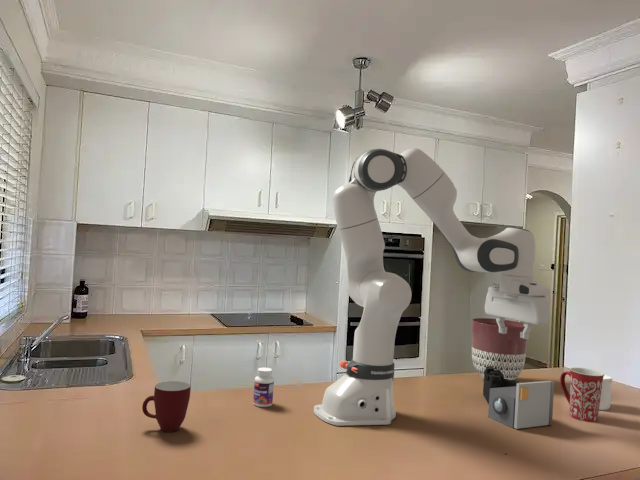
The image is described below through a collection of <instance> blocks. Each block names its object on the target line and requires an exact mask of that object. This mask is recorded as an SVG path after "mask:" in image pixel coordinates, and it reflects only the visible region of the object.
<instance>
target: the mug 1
mask: <svg viewBox="0 0 640 480" xmlns="http://www.w3.org/2000/svg"><path fill="white" fill-rule="evenodd" d="M190 397H191V384H189V383H187V382H185V381H177V380H175V381H173V380H172V381H171V380H170V381H164V382H163V381H162V382H159V383H157V384H155V386H154V393H153V395H149V396H147V397H146V398H145V399H144V401H143V402H142V407H141V409H142V413H143V414H144V415H145V416H146V417H148V418H151V419H156V422H157V424H158V425H159V427H160V430H161V431H163V432H167V433H168V432H169V433H170V432H171V433H173V432H176V431H179V429H180V428H181V426H182V424H183V423H184V420H185V418H186V415H187V412H188V411H187V410H188V407H189V402H190V399H191V398H190ZM149 402H153V403H154V409H155V410H154V411H155V414H153V413H150V412H149V411H148V403H149Z"/></svg>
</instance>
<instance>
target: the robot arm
mask: <svg viewBox="0 0 640 480" xmlns="http://www.w3.org/2000/svg"><path fill="white" fill-rule="evenodd" d="M394 186H399V187H401V188H402V189H403V190H404V191H406V193H407V194H408V195H409V197H410V198H411V199H412V201H414V203H415V204H416V205H417V206H418V207H419V208H420V209H421V210H422V211H423V212H424V213H425V215H426V216H428V218H429V219H430V221H432V224H434V226H435V227H436V229H437V230H438V231H439V232H440V234H441V235H442V236H443V238H444V239H445V240H446V241H447V243H448V244H449V245H450V247H451V249H452V251H453V254H454V258H455V260H456V262H457V264H458V266H459V267H460V268H461V269H462V270H463V271H465V272H468V273H487V274H488V273H489V274H496V273H499V284H498V283H491V285H490V286H489V287H488V289H487V293H486V297H485V302H484V312H485V314H486V315H489V316H494V317H495V319H496V321H497V324H498V326H499V333H502V334H506V333H507V327H505V324H504V321H505V320H511V321H516V322H521V323H524V326H525V328H524V330H523V332H520V338H522V339H528V340H529V339H530V332H531V331H532V329H533V328H534V325H536V326H545V325H547V324H548V323H549V321H550V320H549V319H550V301H549V299H548V296H549V294H550V289H549V288H548V287H547V286H544V285H542V284H540V283H539V282H538V281H535V275H534V274H535V273H534V265H535V263H536V240H535V235H534V233H533V232H531V231H530V230H528V229H526V228H521V227H514V226H513V227H506V228H505V229H504V230H502V231H500V232H499V233H497V234H495V235H492V236H488V237H481V238H480V237H476V236H475V235H472V234H471V233H470V232H469V231H468V230H467V228H466V227H465V226H464V225H463V223H462V221H460V219H459V218H458V217H457V215H456V214H455V212H454V205H455V203H456V201H457V195H458V193H457V192H458V191H457V188H456V186H455V185H454V182H453V180H451V178H450V177H449V175H448V174H447V173H446V172H445V171H444V170H443V168H442V167H440V165H439V164H438V163H437V162H436V161H434V159H433V158H432V157H430V156H429V155H428V154H427V153H426V152H424V151H423V150H422V149H420V148H418V147H411V148H408V149H405V150H403V151H402V152H401V153H396V152H394V151H390V150H388V149H384V148H375V149H369V150H366V151H364V152H362V153H361V154H359V156H357V157H356V158H355V160H354V162H353V163H352V167H351V169H350V176H349V178H348V182H347V183H343V184H342V185H340V186H339V187H337V188H336V189H335V190H334V192H333V195H332V203H333V212H334V217H335V222H336V226H337V229H338V234H339V236H340V239H341V243H342V247H343V250H344V254H345V258H346V268H347V283H346V292H347V295H348V296H349V297H350V299H351V300H352V301H353V302H354V303H355V304H356V305H358V306H359V307H362V308H363V312H362V314H361V319H360V321H359V324H358V326H357V327H356V328H355V330H354V336H353V349H352V350H353V352H352V358H351V360H350V361H349V363H348V361H345V359H344V360H343V359H342V360H340V362H339V367H340V368H341V369H344V370H346V371H345V373H344V374H343V375H341V376H340V377H339V378H338V379H337V380H336V381H334V382H333V383H331V384H330V385H329V386H328V387H326V389H325V391H324V392H323V393H324V394H323V398H322V401H321V404H315V405H314V406H313V413H314V414H315V415H316V417H318V418H319V419H320V420H322V421H323V422H326V423H328V424H330V425H333V426H337V427H338V426H339V427H341V426H344V427H345V426H373V425H374V426H378V425H379V426H380V425H383V426H384V425H388V426H389V425H391V424H392V421H393V420H394V419H395V418H397V417H396V416H397V413H396V409H395V403H394V391H393V389H394V388H393V382H394V377H395V362H394V357H395V341H396V340H395V339H396V334H397V330H398V326H399V322H400V320H401V317H402V315H403V312H404V311H405V310H406V309H407V308H408V307H409V305H410V303H411V301H412V296H413V295H412V289H411V285H410V284H409V283H408V282H407V280H406V279H404V278H403V277H402V276H400V275H398V274H397V273H393V272H388V271H386V270H385V268H384V251H385V248H386V243H385V239H384V236H383V232H382V229H381V225H380V222H379V218H378V215H377V210H376V208H375V195H376V193H377V192H381V191H385V190H388V189H390V188H393V187H394Z"/></svg>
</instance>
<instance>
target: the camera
mask: <svg viewBox="0 0 640 480" xmlns="http://www.w3.org/2000/svg"><path fill="white" fill-rule="evenodd" d="M494 369H495V368H493V366H488V367H486V369H485V371H484V378H483V388H482V395H483V397H484V399H485V401H486V402H487V405H489V395H490V388H501V387H514V386H517V383H520V382H519V381H518V380H516V379H514V380H509V379H504V376H503V374H502V372H501V371H500V370H499V369H498V370H494Z"/></svg>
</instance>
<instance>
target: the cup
mask: <svg viewBox="0 0 640 480" xmlns="http://www.w3.org/2000/svg"><path fill="white" fill-rule="evenodd" d="M612 383H613V377H611V376H609V375H606V374H604V377H603V383H602V390H601V398H600V405H599V411H607V410H609V409H610V407H611V405H612V391H611V390H612Z"/></svg>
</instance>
